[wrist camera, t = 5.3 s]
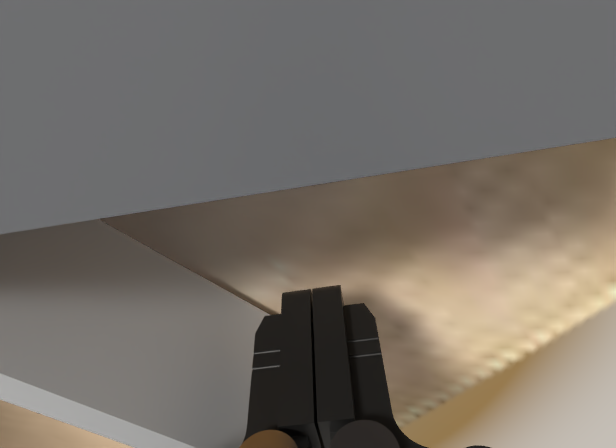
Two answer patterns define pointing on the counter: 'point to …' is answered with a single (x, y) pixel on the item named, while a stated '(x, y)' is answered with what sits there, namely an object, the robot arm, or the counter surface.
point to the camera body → (281, 95)
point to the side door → (122, 339)
